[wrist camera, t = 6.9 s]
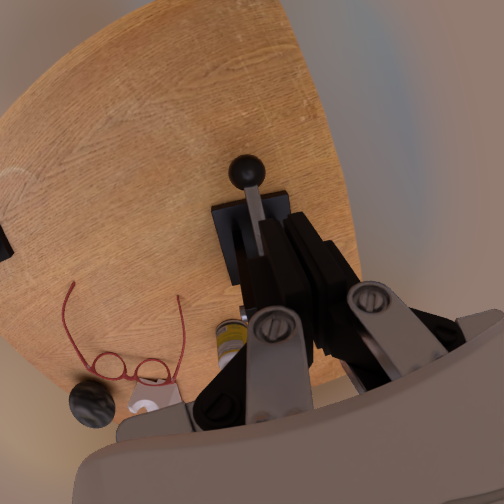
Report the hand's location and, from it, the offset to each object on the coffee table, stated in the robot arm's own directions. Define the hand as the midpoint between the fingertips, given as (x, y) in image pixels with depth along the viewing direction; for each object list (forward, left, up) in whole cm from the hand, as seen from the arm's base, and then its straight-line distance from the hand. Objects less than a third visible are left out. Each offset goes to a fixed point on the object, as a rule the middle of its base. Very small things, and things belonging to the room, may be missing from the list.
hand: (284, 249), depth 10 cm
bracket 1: (+40, -25, -18) cm, 50 cm away
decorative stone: (+35, -38, -18) cm, 55 cm away
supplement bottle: (+24, -6, -18) cm, 30 cm away
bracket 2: (+10, 0, -18) cm, 20 cm away
